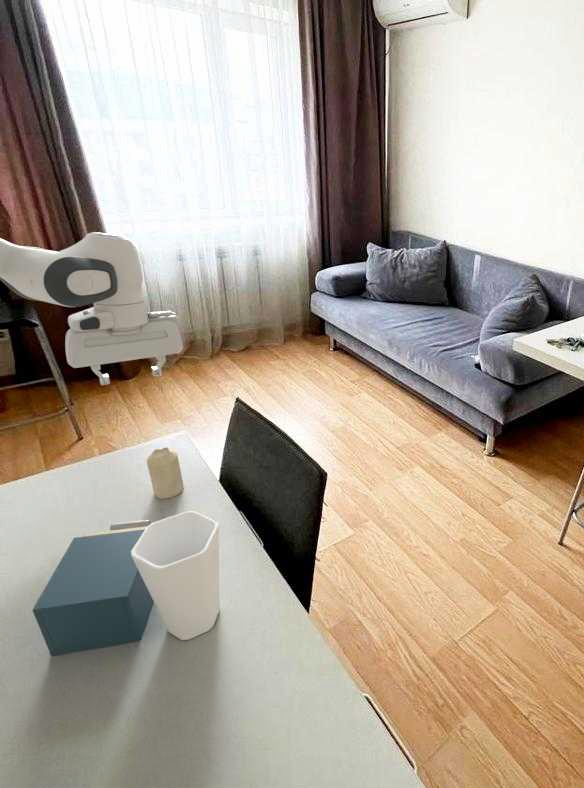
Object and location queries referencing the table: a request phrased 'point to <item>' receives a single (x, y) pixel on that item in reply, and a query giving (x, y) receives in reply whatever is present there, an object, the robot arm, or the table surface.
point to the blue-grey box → (94, 596)
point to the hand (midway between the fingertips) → (132, 379)
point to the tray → (123, 527)
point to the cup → (182, 571)
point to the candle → (165, 473)
